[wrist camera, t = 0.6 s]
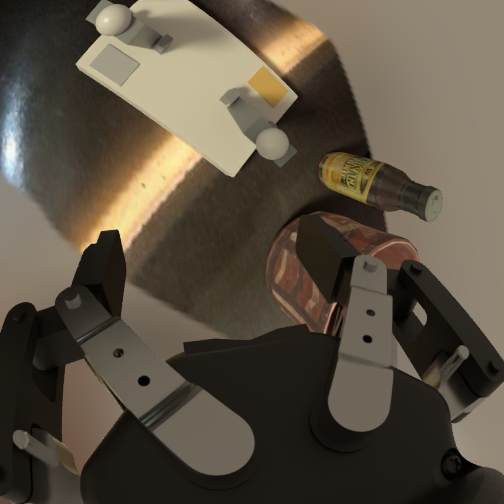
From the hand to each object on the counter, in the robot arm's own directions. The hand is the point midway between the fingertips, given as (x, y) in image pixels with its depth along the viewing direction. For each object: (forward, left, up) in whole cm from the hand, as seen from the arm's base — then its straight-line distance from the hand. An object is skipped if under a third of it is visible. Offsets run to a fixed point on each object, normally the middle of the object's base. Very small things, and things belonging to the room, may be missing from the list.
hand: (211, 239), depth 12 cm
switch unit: (-12, +5, -24) cm, 27 cm away
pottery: (+16, +20, -24) cm, 36 cm away
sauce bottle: (+3, +26, -24) cm, 36 cm away
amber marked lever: (-6, +11, -21) cm, 24 cm away
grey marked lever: (-17, 0, -21) cm, 27 cm away
